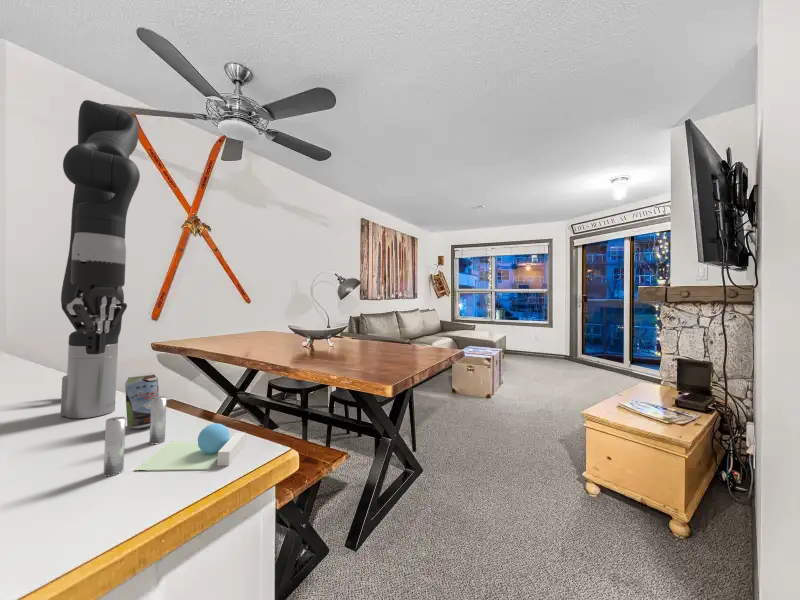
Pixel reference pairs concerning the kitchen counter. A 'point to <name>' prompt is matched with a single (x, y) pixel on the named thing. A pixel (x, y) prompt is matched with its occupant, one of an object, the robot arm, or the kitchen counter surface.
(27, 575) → the kitchen counter surface
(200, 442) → the ball
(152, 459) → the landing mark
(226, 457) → the stopper wall
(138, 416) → the beverage can
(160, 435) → the post
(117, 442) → the post
